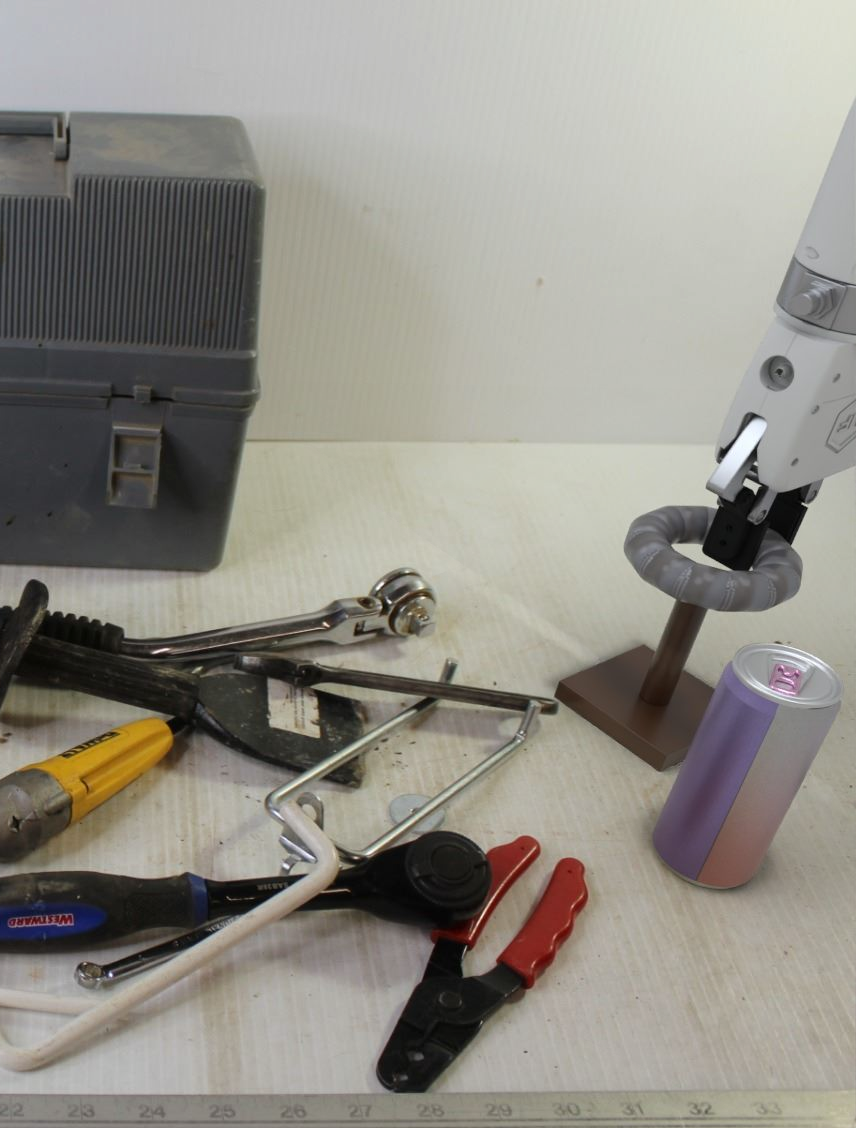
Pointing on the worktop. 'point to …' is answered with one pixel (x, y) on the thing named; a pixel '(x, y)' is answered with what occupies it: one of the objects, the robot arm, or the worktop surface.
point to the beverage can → (746, 763)
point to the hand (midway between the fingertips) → (743, 553)
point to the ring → (702, 583)
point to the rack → (646, 693)
